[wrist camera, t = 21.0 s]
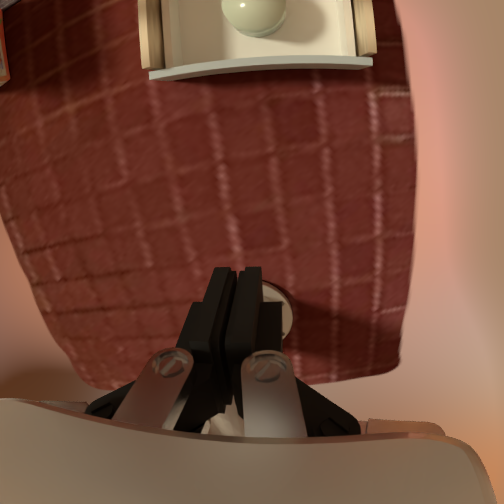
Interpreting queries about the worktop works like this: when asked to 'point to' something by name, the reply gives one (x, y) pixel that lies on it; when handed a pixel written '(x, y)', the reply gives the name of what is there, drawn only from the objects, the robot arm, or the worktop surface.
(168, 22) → the tray
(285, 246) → the worktop surface
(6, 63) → the cracker box
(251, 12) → the cream glossy rounded part
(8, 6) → the chocolate bar
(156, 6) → the sleeve
